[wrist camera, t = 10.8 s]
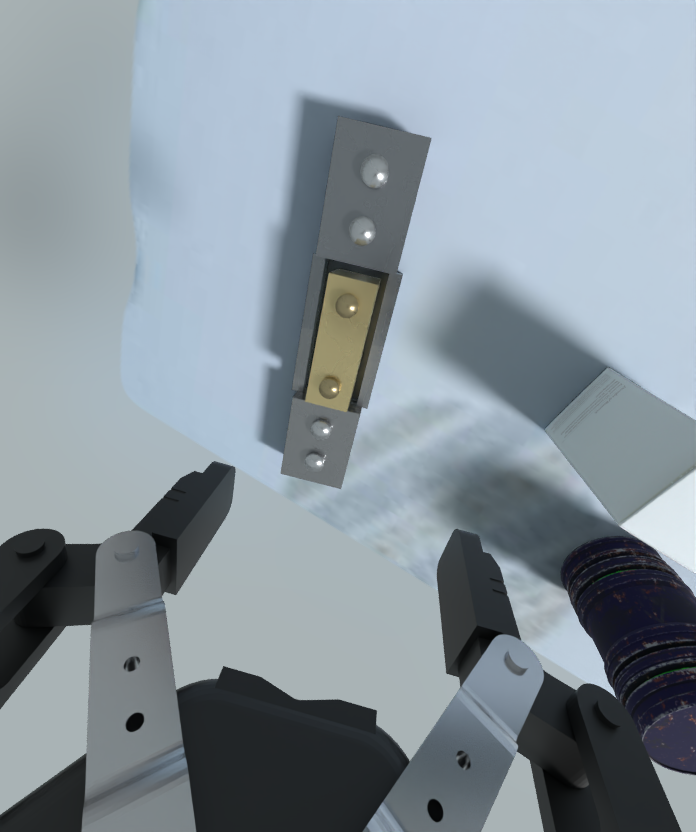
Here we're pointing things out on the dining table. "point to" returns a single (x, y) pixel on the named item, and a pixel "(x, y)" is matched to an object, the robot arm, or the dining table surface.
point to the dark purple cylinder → (641, 639)
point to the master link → (341, 338)
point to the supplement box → (635, 461)
